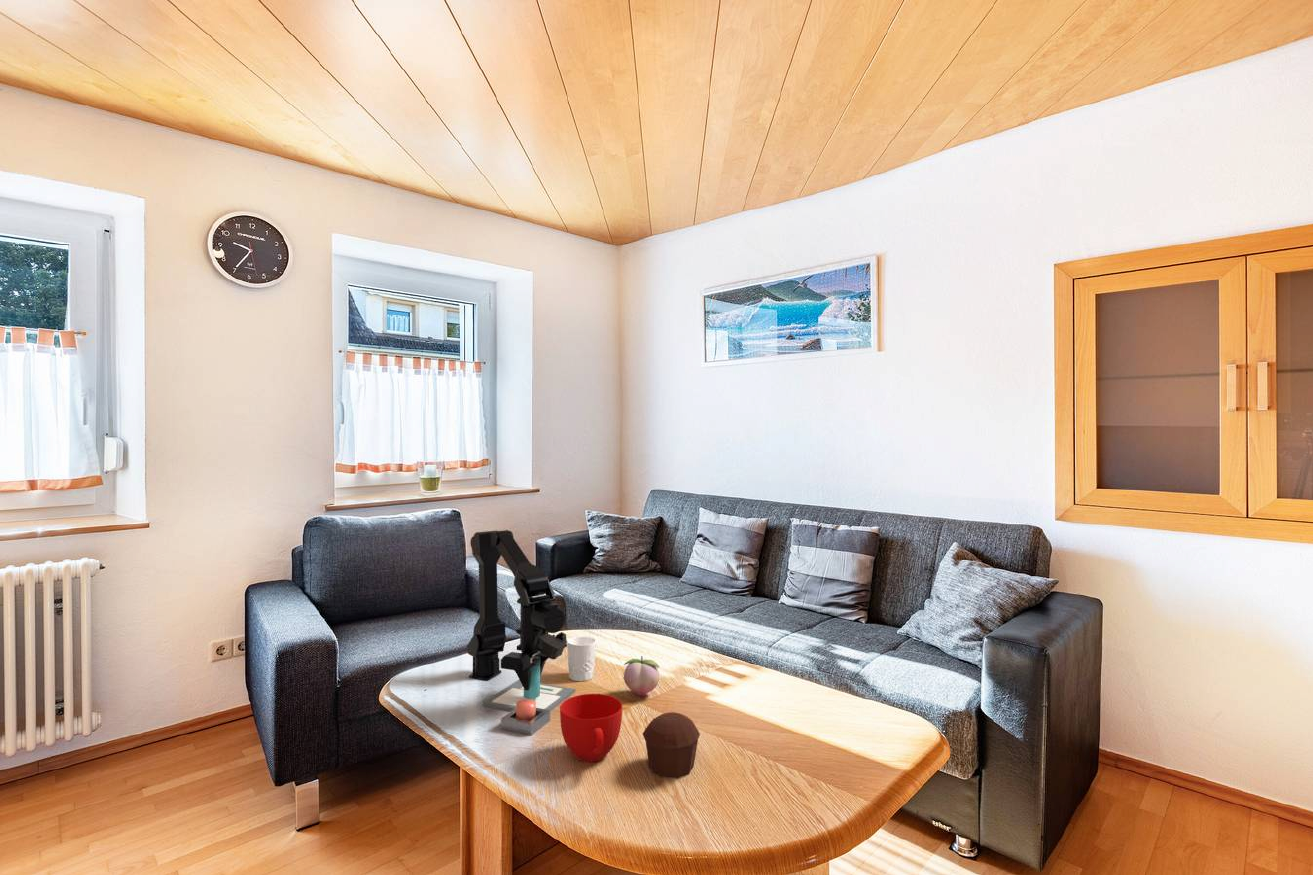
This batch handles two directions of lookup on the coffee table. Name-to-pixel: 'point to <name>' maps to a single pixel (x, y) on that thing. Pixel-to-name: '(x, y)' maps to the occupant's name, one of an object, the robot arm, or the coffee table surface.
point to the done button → (526, 709)
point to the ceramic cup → (591, 725)
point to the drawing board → (515, 691)
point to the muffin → (671, 745)
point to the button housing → (525, 722)
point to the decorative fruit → (641, 675)
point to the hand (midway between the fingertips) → (531, 686)
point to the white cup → (581, 658)
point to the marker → (534, 680)
